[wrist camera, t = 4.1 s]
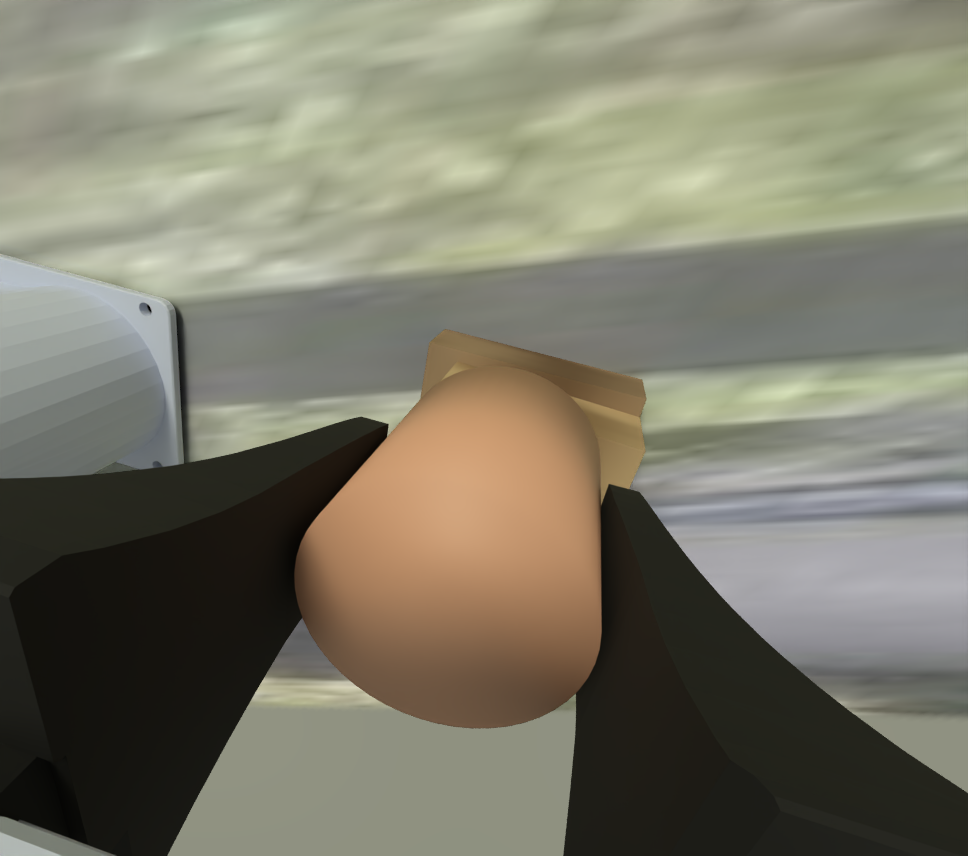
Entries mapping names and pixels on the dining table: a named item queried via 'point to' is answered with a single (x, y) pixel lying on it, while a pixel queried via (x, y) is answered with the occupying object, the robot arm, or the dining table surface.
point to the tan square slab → (534, 370)
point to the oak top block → (607, 439)
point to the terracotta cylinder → (465, 556)
